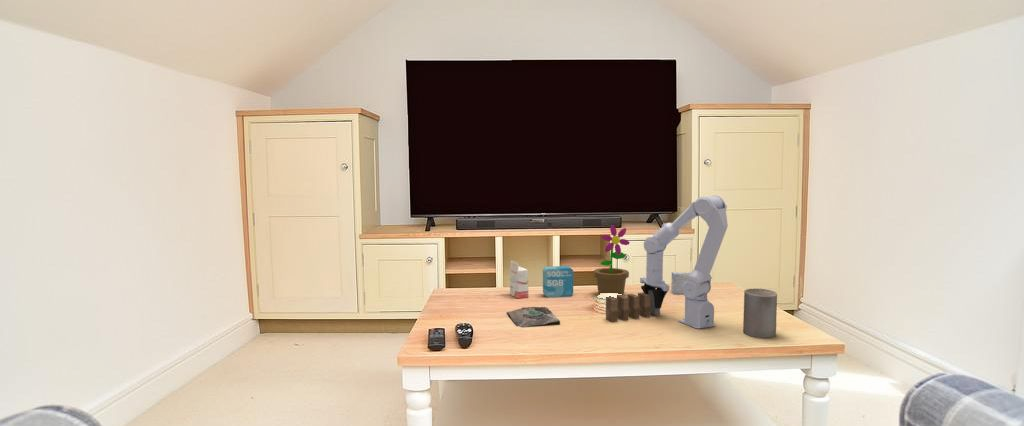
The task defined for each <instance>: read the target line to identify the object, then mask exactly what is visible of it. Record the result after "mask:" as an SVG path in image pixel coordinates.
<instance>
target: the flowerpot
mask: <svg viewBox="0 0 1024 426" xmlns="http://www.w3.org/2000/svg"><path fill="white" fill-rule="evenodd" d="M609 230H610V234H611V235H607V234H604V235H601V239H602V240H603V241H605V242H609V243H607V245H606V246H605V249H604V252H605V253H608V252H610V255H609V259H610V260H607V259H606V260H602V261H601V262H600V265H602V266H609V267H603V268H596V269H594V270H593V276H594V278H596V286H597V293H598V294H600V293H618V294H622V295H624V296H625V287H626V282H627V279H628V278H630V277H629V276H630V272H629V271H628V270H627V269H623V268H619V267H617V268H616V267H615V268H614V267H613V259H615V260H622V259H624V258H626V257H627V255H626V254H625V253H624V252H623V251H622V248H621V245H622V246H628V245H630V243H631V242H630V241H629V240H628V239H626V238H625V239H624V238H623V237H624V236H625V234H626V233H627V228H626V227H624V228H622V229H620V230H619V231H618V230H617V228H616V227H615V225H614V224H612V225H610V228H609ZM617 231H618V232H617ZM617 233H618V234H617ZM612 236H613V237H612ZM619 243H620V244H619ZM614 251H615V252H614Z"/></svg>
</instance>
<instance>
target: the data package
mask: <svg viewBox="0 0 1024 426" xmlns="http://www.w3.org/2000/svg"><path fill="white" fill-rule="evenodd" d="M542 293H543V295H544V296H545V297H547V298H563V297H565V298H567V297H571V296H573V295H574V269H573V268H572V267H570V266H569V265H562V266H561V265H559V266H555V265H554V266H545V267H543V268H542Z"/></svg>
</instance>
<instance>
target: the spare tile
mask: <svg viewBox="0 0 1024 426" xmlns="http://www.w3.org/2000/svg"><path fill="white" fill-rule="evenodd" d="M648 295H650V314H652V315H655V316H658V315H661V308H658V309H656V308H655V302H654V295H653V292H652V290H648Z"/></svg>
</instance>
